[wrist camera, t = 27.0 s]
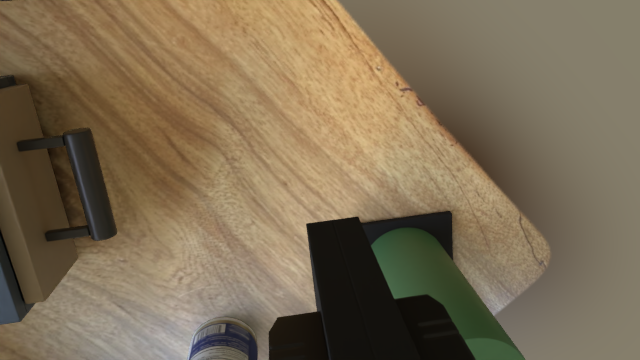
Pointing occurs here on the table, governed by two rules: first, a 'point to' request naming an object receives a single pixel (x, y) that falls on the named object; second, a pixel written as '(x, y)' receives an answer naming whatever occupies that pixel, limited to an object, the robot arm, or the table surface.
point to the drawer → (44, 196)
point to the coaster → (430, 223)
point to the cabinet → (10, 270)
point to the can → (441, 289)
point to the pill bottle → (223, 341)
